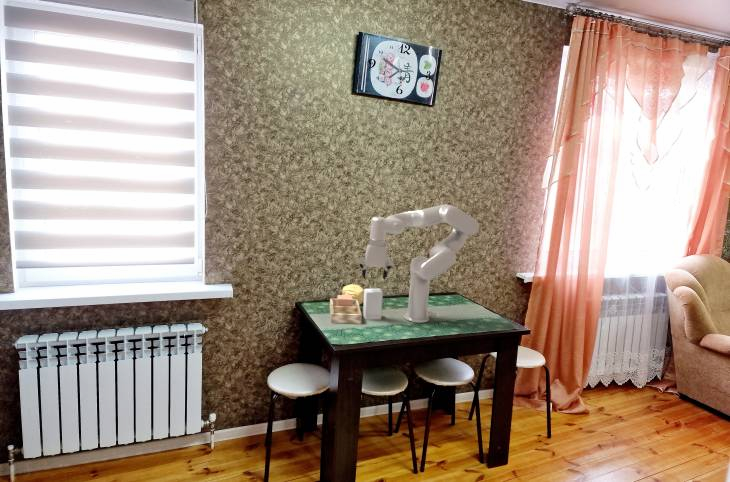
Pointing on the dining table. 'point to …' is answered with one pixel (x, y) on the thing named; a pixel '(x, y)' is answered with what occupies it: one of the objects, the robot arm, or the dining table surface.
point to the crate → (345, 312)
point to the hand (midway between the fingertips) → (374, 278)
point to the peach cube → (344, 300)
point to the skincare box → (372, 304)
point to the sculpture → (354, 292)
